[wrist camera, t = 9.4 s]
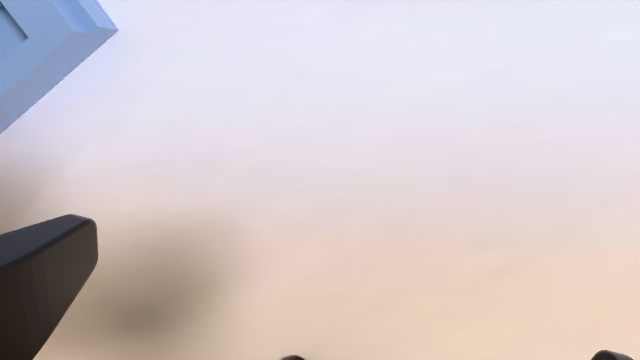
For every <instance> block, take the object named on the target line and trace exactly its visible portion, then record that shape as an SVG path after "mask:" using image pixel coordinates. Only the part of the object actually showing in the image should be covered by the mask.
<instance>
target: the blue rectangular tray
mask: <svg viewBox="0 0 640 360" xmlns="http://www.w3.org/2000/svg"><path fill="white" fill-rule="evenodd" d="M0 3H1V6H0V133H1V132H2V131H4V130H5V129H6V128H7V127H8V126H9V125H10V124H12V123H13V122H14V121H15V120H16V119H17V118H18V117H20V116H21V115H22V114H23V113H24V112H25V111H26V110H28V109H29V108H30V107H31V106H32V105H33V104H34V103H36V102H37V101H38V100H39V99H40V98H41V97H42V96H44V95H45V94H46V93H47V92H48V91H49V90H50V89H52V88H53V87H54V86H55V85H56V84H57V83H58V82H60V81H61V80H62V79H63V78H64V77H65V76H66V75H68V74H69V73H70V72H71V71H72V70H73V69H74V68H76V67H77V66H78V65H79V64H80V63H81V62H82V61H84V60H85V59H86V58H87V57H88V56H89V55H90V54H92V53H93V52H94V51H95V50H96V49H97V48H98V47H100V46H101V45H102V44H103V43H104V42H105V41H106V40H108V39H109V38H110V37H111V36H112V35H113V34H114V33H116V32H117V31H118V29H117V28H116V26H115V25H114V24H113V22H112V21H111V20H110V18H109V17H108V16H107V14H106V13H105V11H104V10H103V9H102V7H101V6H100V5H99V3H98V2H97V1H96V0H0Z"/></svg>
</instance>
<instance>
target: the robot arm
mask: <svg viewBox="0 0 640 360" xmlns="http://www.w3.org/2000/svg"><path fill="white" fill-rule="evenodd" d="M97 260H98V242H97V227H96V223H95V221H94V220H92V219H90V218H86V217H82V216H78V215H74V214H68V215H64V216H61V217H58V218H55V219H51V220H48V221H45V222H41V223H38V224H35V225H31V226H28V227H25V228H21V229H18V230H15V231H11V232H8V233H5V234H1V235H0V360H33V358H34V357H35V356H36V354H37V353H38V352H39V351H40V349H41V348H42V347H43V345H44V344H45V343H46V341H47V340H48V338H49V337H50V335H51V334H52V333H53V331H54V330H55V328H56V326H57V325H58V323H59V322H60V320H61V319H62V317H63V316H64V314H65V313H66V311H67V310H68V308H69V307H70V305H71V304H72V302H73V301H74V299H75V297H76V296H77V294H78V293H79V291H80V290H81V288H82V287H83V285H84V284H85V282H86V281H87V279H88V278H89V276H90V275H91V273H92V272H93V270H94V268H95V266H96V264H97ZM291 360H304V359H303V358H300V357H294V358H292V359H291ZM591 360H633V359H632V358H630V357H628V356H626V355H624V354H620V353H616V352H612V351H608V350H601V351H599V352H597V353H596V354H595V355H594V357H593V358H592V359H591Z"/></svg>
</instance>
